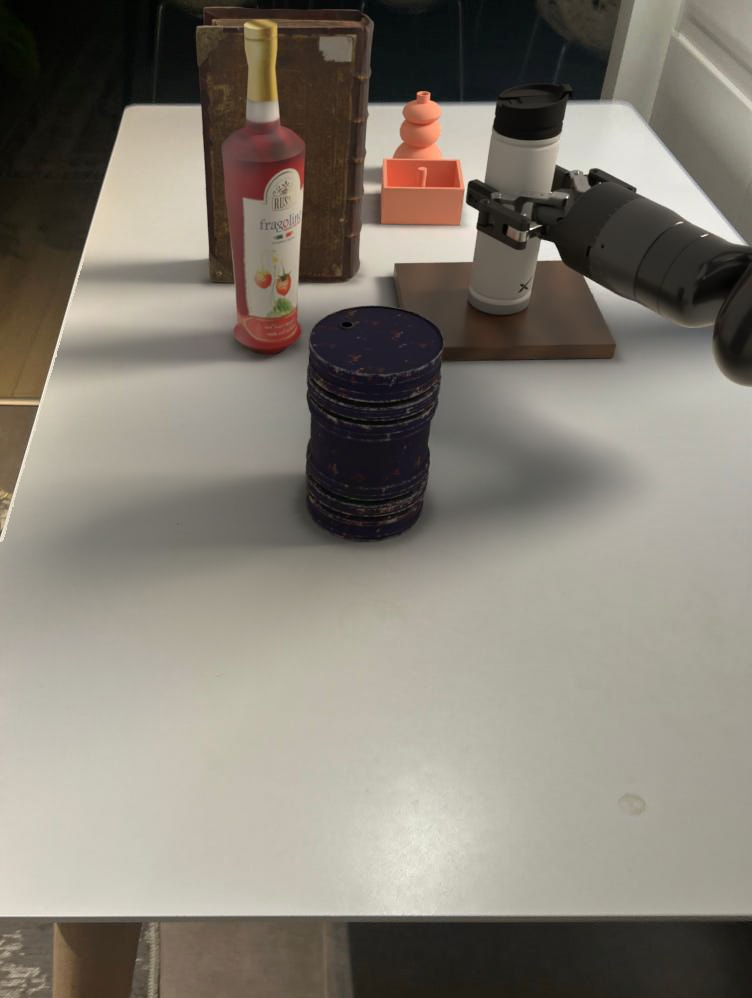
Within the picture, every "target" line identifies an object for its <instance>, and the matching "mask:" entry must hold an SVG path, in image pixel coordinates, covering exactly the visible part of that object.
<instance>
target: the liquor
mask: <svg viewBox="0 0 752 998" xmlns="http://www.w3.org/2000/svg"><path fill="white" fill-rule="evenodd" d="M244 39H245V52H246V57H247V62H248V67H249V69H248V88H247V108H246V126H245V127H242V128H240V129H238V130H236V131H235V132H233V133H232V134H231V135H230V136H229V137H228V138H227V139H226V140H225V141H224V142H223V143H222V146H221V148H222V158H223V168H224V180H225V192H226V203H227V212H228V221H229V230H230V238H231V247H232V258H233V270H234V281H235V282H234V291H235V304H236V306H235V307H236V320H237V322H236V324H235V326H233V327H234V328H233V336H234V338H235V339H236V340H237V341H238V342H239V343H240V344H242V345H243V346H244V347H245V348H248V349H249V350H250V351H252V352H254V353H257V354H261V355H262V354H263V355H273V354H278V353H281V352H283V351H285V350H287V349H288V348H289V347H290V346H292V344H294V343H295V342H296V341H297V340H299V338H300V337H301V335H302V332H303V329H302V326H301V324H300V322H299V321H298V309H299V308H298V307H299V305H298V303H299V280H298V278H299V254H300V237H301V223H302V208H303V186H304V163H305V142H304V141H303V140H302V139H301V138H300V137H299V136H298V135H297V134H296V133H295V132H293V131H292V130H291V129H289V128H286V127H284V126H281V125H280V116H279V105H278V94H277V83H276V72H275V64H276V56H277V23H276V22H275V21H272V20H252V21H248V22H246V23H245V24H244Z"/></svg>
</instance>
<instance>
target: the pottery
mask: <svg viewBox="0 0 752 998" xmlns="http://www.w3.org/2000/svg"><path fill="white" fill-rule="evenodd" d="M402 116H403V118H404V120H403V122H402V123H401V124H400V127H399V136H400V139H401V141H402V143H400V145H398V146H397V148H396V149H395V151H394V153H393V155H392V158H382V171H381V184H380V185H381V186H380V224H381V225H428V226H429V225H432V226H433V225H434V226H436V225H437V226H440V225H441V226H461V220H462V214H463V213H462V212H463V205H464V199H465V198H464V197H465V183H464V176H463V170H462V163H461V159H460V158H459V159H456V158H455V159H454V158H453V159H452V158H449V159H448V158H443V153H442V151H441V148H440V147H439V146H438V144H437V143H436V142H438V140H439V139H440V137H441V133H442V131H441V130H442V127H441V124H440V123H439V121H438V120H439V119H440V117H441V116H442V108H441V106H440V105H439V104H438V103H436V102H435V101H433V100H431V92H429V91H425V90H424V91H422V90H421V91H418V92H416V99H414V100H411V101H409V102H407V103H406V105H404V107H403V108H402Z"/></svg>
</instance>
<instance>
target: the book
mask: <svg viewBox="0 0 752 998" xmlns="http://www.w3.org/2000/svg"><path fill="white" fill-rule="evenodd" d="M202 9H203V10H202V15H203V16H202V17H203V18H202V19H203V25H197V26H196V27H195V46H196V47H195V48H196V61H197V67H198V73H199V75H198V76H199V92H200V94H199V95H200V106H201V107H200V110H201V126H202V127H201V128H202V129H201V130H202V132H201V133H202V146H203V157H204V158H203V160H204V178H205V179H204V180H205V181H204V182H205V202H206V203H205V204H206V220H207V222H206V223H207V236H208V237H207V240H208V270H209V273H208V274H209V280H210V282H214V283H215V282H218V283H235V281H234V270H233V258H232V247H231V238H230V230H229V221H228V212H227V203H226V192H225V180H224V168H223V158H222V148H221V146H222V143H223V142H224V141H225V140H226V139H227V138H228V137H229V136H230V135H231V134H232V133H233V132H235V131H236V130H238V129H240V128H242V127H245V126H246V108H247V88H248V69H249V67H248V62H247V57H246V52H245V39H244V24H245V23H246V22H248V21H252V20H272V21H275V22H276V23H277V56H276V64H275V72H276V83H277V94H278V105H279V116H280V125H281V126H284V127H286V128H289V129H291V130H292V131H293V132H295V133H296V134H297V135H298V136H299V137H300V138H301V139H302V140H303V141H304V142H305V163H304V186H303V208H302V223H301V237H300V254H299V278H298V281H308V282H314V283H315V282H316V283H344V282H346V281H347V280H351V279H352V278H354V277H355V276H356V275H358V272H359V270H360V267H361V261H360V241H361V232H362V228H363V222H362V209H363V197H364V193H365V187H364V173H365V171H364V170H365V160H366V156H367V149H366V143H367V142H366V141H367V126H368V119H369V116H370V113H369V89H370V78H371V76H372V69H371V58H372V57H371V56H372V45H373V35H374V28H375V22H374V21H373V20H372V19H371V18H370V16H369V15H368V14H366V13H363V12H362V11H360V10H359V9H345V8H344V9H341V8H340V9H338V8H337V9H330V8H327V9H326V8H324V9H323V8H322V9H297V8H296V9H293V8H252V7H251V8H248V7H241V6H207V7H204V8H202Z"/></svg>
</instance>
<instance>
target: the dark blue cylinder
mask: <svg viewBox="0 0 752 998" xmlns="http://www.w3.org/2000/svg"><path fill="white" fill-rule="evenodd" d="M308 335H309V336H308V364H307V368H306V386H307V387H306V388H307V390H306V403H307V406H308V407H307V408H308V412H309V413H310V433H309V434H310V435H309V436H310V437H309V439H308V442H307V445H306V451H305V452H306V453H305V458H306V460H305V474H304V475H305V477H304V478H305V484H306V498H305V500H306V501H305V502H306V503H305V504H306V510H307V512H308V514H309V517H310V518H311V520H312V521H313V522H314V523H315V524H316V525H317V526H318V527H319V528H320V529H322V530H324V531H325V532H327V533H328V534H330V535H332V536H336V537H338V538H341V539H344V540H347V541H348V540H349V541H355V542H364V543H365V542H367V543H368V542H369V543H370V542H380V541H386V540H390V539H394V538H397V537H399V536H401V535H404V534H405V533H406V532H408V531H410V530H411V529H412V528H414V526H416V524H417V523H418V522H419V520H420V519H421V516H422V514H423V510H424V498H425V495H426V491H427V488H428V481H429V475H430V466H431V449H430V445H429V440H430V432H431V425H432V420H433V419H434V417H435V415H436V411H437V409H438V405H439V394H440V390H441V383H442V365H443V361H442V355H443V349H444V337H443V334H442V332H441V331H440V329H439V328H438V327H437V326H436V325H435V324H434V323H433V322H432V321H430V320H429V319H427V318H425V317H424V316H422V315H420V314H417V313H414V312H412V311H409V310H405V309H401V308H400V307H395V306H387V305H358V306H352V307H346V308H343V309H339V310H336V311H333V312H331V313H329V314H327V315H325V316H323V317H322V318H320V319H319V320H317V322H316V323H315V324H314V325H313V326H312V327H311V329H310V332H309V334H308Z"/></svg>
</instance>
